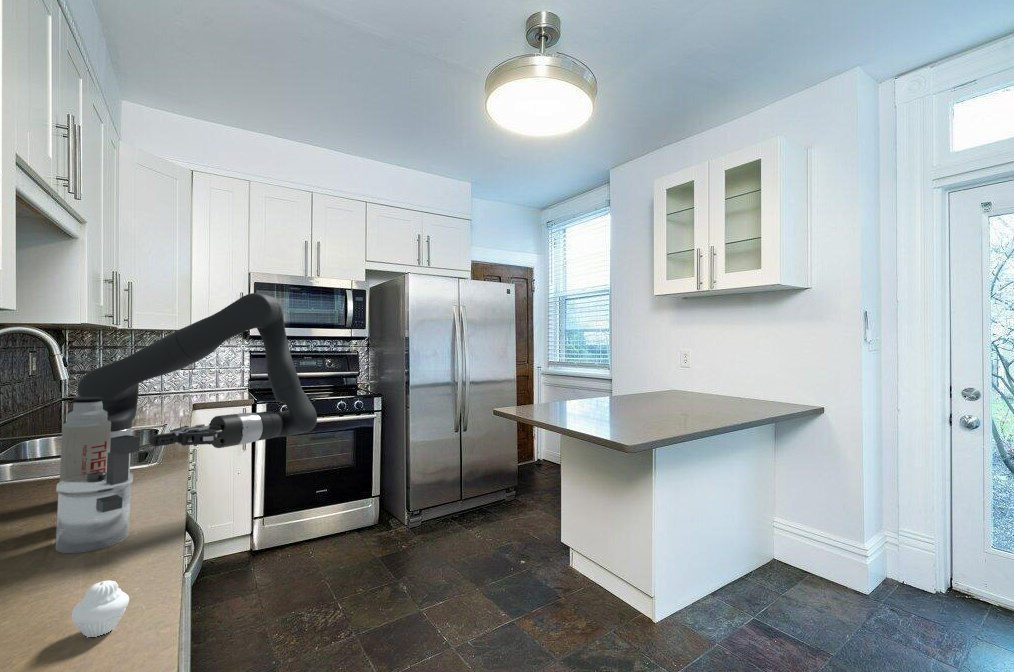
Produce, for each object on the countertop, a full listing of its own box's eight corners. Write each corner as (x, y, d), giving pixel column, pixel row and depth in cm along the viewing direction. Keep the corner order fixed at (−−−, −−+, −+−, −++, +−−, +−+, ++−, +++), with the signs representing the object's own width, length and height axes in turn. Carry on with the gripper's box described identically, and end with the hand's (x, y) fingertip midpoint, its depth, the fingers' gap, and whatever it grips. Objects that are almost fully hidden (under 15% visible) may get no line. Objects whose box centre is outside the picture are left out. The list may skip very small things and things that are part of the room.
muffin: (77, 625, 66) (80, 576, 66) (131, 613, 69) (133, 567, 69) (64, 650, 61) (66, 597, 61) (123, 637, 64) (125, 586, 64)
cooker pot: (47, 543, 91) (50, 488, 92) (116, 525, 101) (118, 475, 101) (72, 562, 84) (75, 502, 84) (144, 541, 93) (146, 487, 94)
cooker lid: (40, 491, 89) (42, 438, 89) (103, 475, 100) (105, 428, 100) (99, 498, 86) (101, 443, 86) (157, 481, 97) (159, 432, 98)
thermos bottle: (112, 523, 102) (118, 397, 103) (64, 535, 95) (70, 400, 96) (99, 515, 106) (104, 394, 107) (52, 526, 100) (58, 397, 100)
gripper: (222, 411, 114) (138, 419, 99) (252, 416, 107) (167, 427, 93) (221, 441, 114) (137, 454, 99) (251, 449, 107) (165, 464, 92)
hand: (151, 441), depth 96 cm, fingers closed
